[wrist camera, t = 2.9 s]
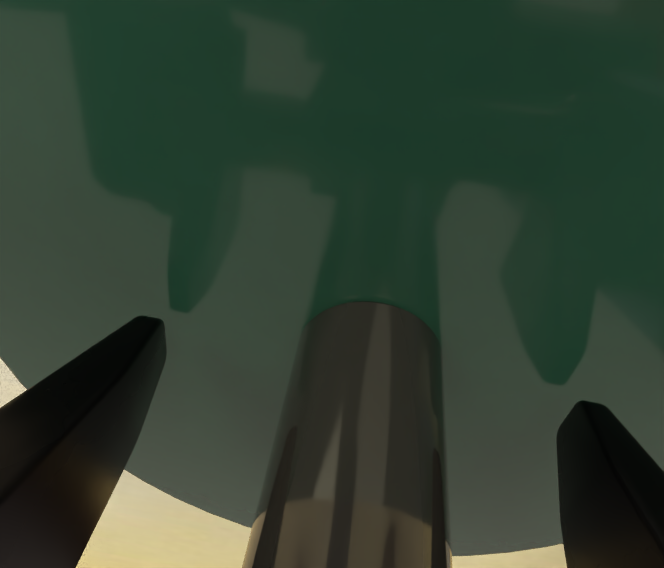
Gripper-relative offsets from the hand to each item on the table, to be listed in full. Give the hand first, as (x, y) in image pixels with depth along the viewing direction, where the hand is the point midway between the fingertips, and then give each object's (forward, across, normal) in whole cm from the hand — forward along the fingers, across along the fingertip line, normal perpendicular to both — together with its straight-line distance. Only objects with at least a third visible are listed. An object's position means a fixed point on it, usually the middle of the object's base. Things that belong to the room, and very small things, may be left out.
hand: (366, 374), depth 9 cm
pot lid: (+1, 0, 0) cm, 1 cm away
